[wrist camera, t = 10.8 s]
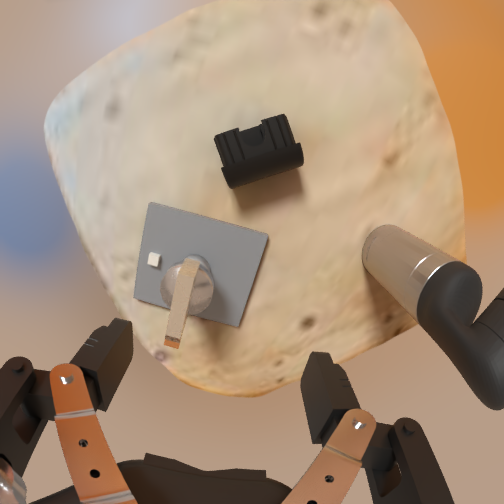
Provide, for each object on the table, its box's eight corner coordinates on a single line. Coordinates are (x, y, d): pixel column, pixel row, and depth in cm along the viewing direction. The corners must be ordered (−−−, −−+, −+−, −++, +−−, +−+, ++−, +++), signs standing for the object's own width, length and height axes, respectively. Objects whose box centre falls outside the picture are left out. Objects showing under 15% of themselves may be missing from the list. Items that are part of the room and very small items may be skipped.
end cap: (231, 186, 40) (229, 191, 33) (215, 140, 37) (209, 136, 31) (297, 165, 39) (308, 166, 33) (282, 119, 37) (289, 111, 30)
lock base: (267, 233, 42) (271, 246, 36) (238, 323, 47) (237, 344, 41) (151, 202, 40) (136, 209, 34) (135, 294, 44) (122, 312, 39)
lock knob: (171, 246, 35) (155, 266, 29) (221, 260, 36) (217, 284, 29) (158, 310, 38) (144, 338, 31) (204, 323, 39) (198, 354, 32)
